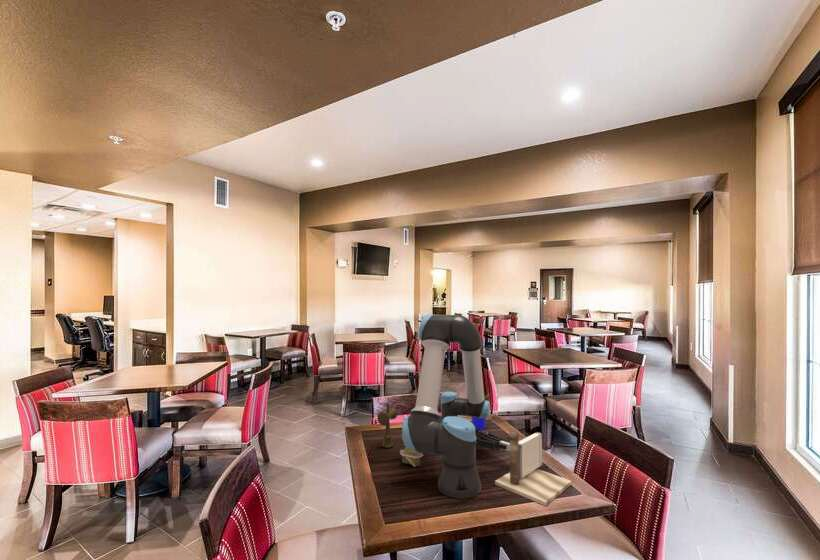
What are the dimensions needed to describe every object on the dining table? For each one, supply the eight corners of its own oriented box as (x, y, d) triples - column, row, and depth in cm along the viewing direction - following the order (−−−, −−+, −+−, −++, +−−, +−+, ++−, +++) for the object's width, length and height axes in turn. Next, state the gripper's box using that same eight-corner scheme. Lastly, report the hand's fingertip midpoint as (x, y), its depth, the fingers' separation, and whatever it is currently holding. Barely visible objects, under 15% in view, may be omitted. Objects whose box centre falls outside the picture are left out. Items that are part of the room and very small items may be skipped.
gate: (519, 479, 131) (519, 445, 132) (514, 477, 133) (514, 443, 133) (542, 464, 143) (541, 433, 144) (537, 463, 144) (536, 432, 145)
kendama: (376, 449, 162) (376, 403, 163) (386, 441, 171) (386, 398, 172) (388, 451, 160) (388, 405, 161) (398, 443, 169) (398, 399, 170)
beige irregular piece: (425, 477, 138) (425, 459, 138) (383, 468, 145) (383, 451, 146) (436, 464, 149) (436, 447, 149) (397, 456, 156) (397, 440, 157)
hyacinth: (491, 431, 185) (491, 371, 186) (471, 431, 185) (471, 371, 186) (488, 425, 193) (488, 367, 195) (469, 425, 194) (468, 367, 195)
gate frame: (545, 506, 118) (544, 444, 119) (495, 484, 132) (494, 429, 133) (571, 484, 132) (570, 429, 133) (523, 466, 146) (522, 417, 147)
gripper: (475, 438, 164) (523, 454, 147) (457, 446, 155) (506, 464, 138) (475, 421, 165) (523, 435, 148) (456, 428, 156) (506, 444, 139)
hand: (515, 449), depth 143 cm, fingers closed
